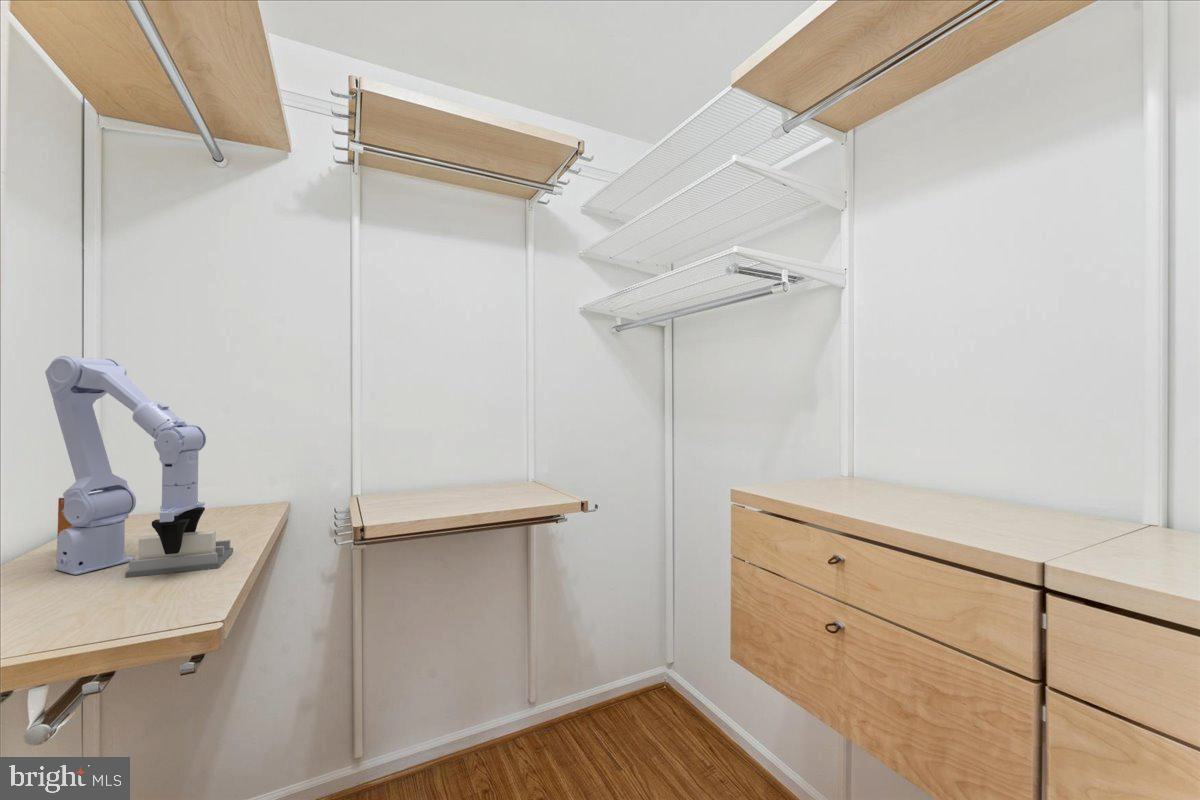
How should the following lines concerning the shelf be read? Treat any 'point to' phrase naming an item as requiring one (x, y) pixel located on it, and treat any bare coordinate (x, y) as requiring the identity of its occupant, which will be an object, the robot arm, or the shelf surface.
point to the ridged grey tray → (180, 562)
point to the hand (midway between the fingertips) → (179, 547)
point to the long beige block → (190, 545)
